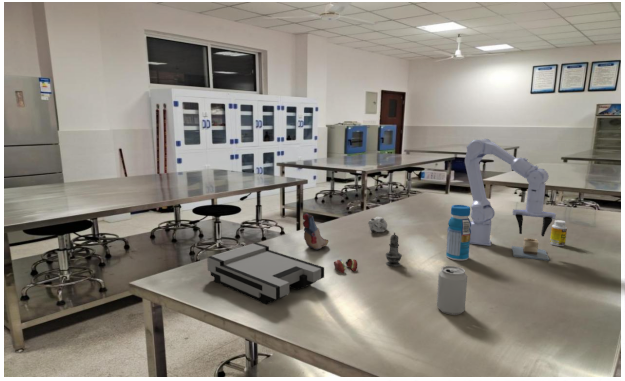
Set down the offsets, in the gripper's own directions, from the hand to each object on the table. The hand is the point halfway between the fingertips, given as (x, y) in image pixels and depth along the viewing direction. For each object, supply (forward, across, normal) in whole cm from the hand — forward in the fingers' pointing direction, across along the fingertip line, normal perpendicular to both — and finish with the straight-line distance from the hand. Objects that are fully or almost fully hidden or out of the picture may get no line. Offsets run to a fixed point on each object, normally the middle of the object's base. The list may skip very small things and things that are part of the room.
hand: (531, 234), depth 158 cm
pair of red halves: (+8, -61, -45) cm, 76 cm away
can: (+8, -25, -62) cm, 67 cm away
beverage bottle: (+8, -26, -16) cm, 32 cm away
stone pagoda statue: (+8, -47, -33) cm, 58 cm away
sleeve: (+7, 0, 0) cm, 7 cm away
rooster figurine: (+8, -80, -27) cm, 85 cm away
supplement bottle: (+8, +12, +18) cm, 23 cm away
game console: (+9, -81, -67) cm, 106 cm away
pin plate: (+8, 0, 0) cm, 8 cm away
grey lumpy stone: (+8, -63, +7) cm, 64 cm away
